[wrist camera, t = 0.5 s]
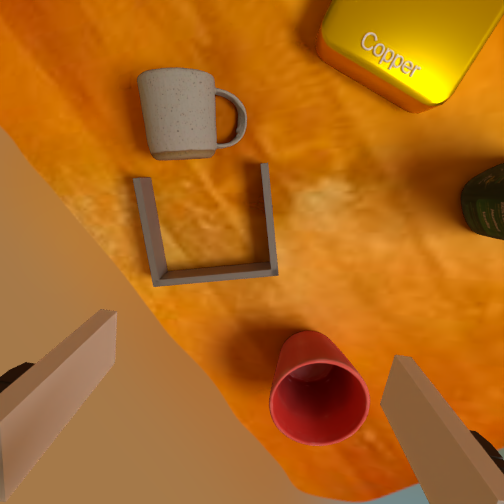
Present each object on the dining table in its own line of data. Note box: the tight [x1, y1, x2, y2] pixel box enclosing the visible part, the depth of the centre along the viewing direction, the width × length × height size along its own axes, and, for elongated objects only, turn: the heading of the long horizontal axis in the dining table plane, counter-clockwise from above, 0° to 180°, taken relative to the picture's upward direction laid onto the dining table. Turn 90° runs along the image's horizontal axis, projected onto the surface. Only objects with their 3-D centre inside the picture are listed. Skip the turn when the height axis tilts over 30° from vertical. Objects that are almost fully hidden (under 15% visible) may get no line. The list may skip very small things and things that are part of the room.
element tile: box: [315, 0, 504, 113], centre depth 31 cm, size 15×15×5 cm
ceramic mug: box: [137, 68, 247, 160], centre depth 33 cm, size 11×8×8 cm
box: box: [133, 163, 278, 287], centre depth 37 cm, size 13×15×4 cm
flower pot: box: [269, 331, 370, 446], centre depth 38 cm, size 11×11×10 cm
